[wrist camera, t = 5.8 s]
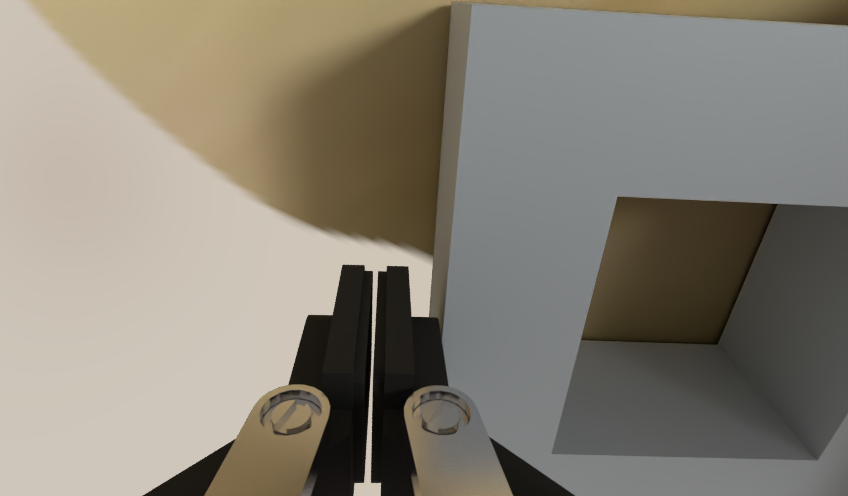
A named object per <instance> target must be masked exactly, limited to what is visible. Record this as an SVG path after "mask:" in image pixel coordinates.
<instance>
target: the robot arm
mask: <svg viewBox="0 0 848 496" xmlns="http://www.w3.org/2000/svg"><path fill="white" fill-rule="evenodd" d="M372 285H373V271H365V267H364V265H343V266H342V270H341V276H340V281H339V286H338V292H337V296H336V302H335V307H334V312H333V315H331V316H330V315H308V317H307V319H306V323H305V326H304V330H303V334H302V337H301V341H300V345H299V348H298V352H297V356H296V359H295V363H294V367H293V370H292V374H291V378H290V381H289V385H287V386H283V387H279V388H277V389H275V390H273V391H270V392H269V393H267V394H266V395H264V396H263V397H262V398H260V400H259V401H258V402H257V403H256V404H255V406H254V407H253V409H252V411H251V412H250V414H249V416H248V418H247V420H246V422H245V424H244V425H243V427H242V429H241V431H240V433H239V434H238V436H237V438H236V439H235V440H233V441H232V442H230V443H228V444H226V445H225V446H223V447H222V448H220V449H218V450H217V451H215V452H213V453H212V454H210V455H209V456H207V457H205V458H204V459H202V460H200V461H199V462H197V463H196V464H194V465H192V466H191V467H189V468H187V469H186V470H184V471H182V472H181V473H179V474H178V475H176V476H174V477H173V478H171V479H169V480H168V481H166V482H164V483H163V484H161V485H160V486H158V487H156V488H155V489H153V490H152V491H150V492H148V493H147V494H145V495H143V496H353V494H354V483H364V475H365V459H366V457H365V456H366V442H367V441H366V440H367V426H368V408H369V391H370V375H371V346H372V342H371V341H372V289H373V288H372V287H373V286H372ZM409 287H410V286H409V270H408V267H404V266H387V272H381V271H379V272H378V288H377V308H376V329H375V349H374V369H373V411H372V412H373V413H372V459H371V460H372V461H371V462H372V463H371V483H381V496H575V495H574V494H572V493H571V492H569V491H568V490H566V489H565V488H564V487H562V486H561V485H559V484H558V483H556V482H555V481H553V480H552V479H550V478H549V477H547V476H546V475H545V474H543V473H542V472H540V471H539V470H537V469H536V468H534V467H533V466H531V465H530V464H528V463H527V462H526V461H524V460H523V459H521V458H520V457H518V456H517V455H515V454H514V453H512V452H511V451H510V450H508V449H507V448H505V447H504V446H502V445H501V444H499V443H498V442H496V441H495V440H493V439H492V438H491V437H489V436H488V433H487V431H486V428H485V426H484V423H483V421H482V419H481V416H480V414H479V411H478V409H477V407H476V405H475V404H474V402H473V400H472V399H471V398H470V397H468V396H467V395H466V394H465V393H463V392H461V391H459V390H457V389H455V388H452V387H449V385H448V378H447V371H446V365H445V358H444V351H443V345H442V338H441V331H440V324H439V319H438V317H411V302H410V288H409Z"/></svg>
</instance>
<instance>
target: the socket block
mask: <svg viewBox="0 0 848 496" xmlns="http://www.w3.org/2000/svg"><path fill="white" fill-rule="evenodd" d="M617 197H639V198H661V199H683V200H706V201H728V202H750V203H772V204H777V207H776V209H775V211H774V214H773V216H772V218H771V221H770V223H769V225H768V228H767V230H766V232H765V235H764V237H763V239H762V242H761V244H760V247H759V249H758V251H757V254H756V256H755V258H754V261H753V263H752V265H751V268H750V270H749V272H748V275H747V277H746V279H745V282H744V284H743V286H742V289H741V291H740V293H739V296H738V298H737V300H736V303H735V305H734V308H733V310H732V312H731V315H730V317H729V319H728V322H727V324H726V326H725V329H724V331H723V333H722V336H721V338H720V340H719V343H718V345H709V344H679V343H649V342H619V341H588V340H581V337H582V333H583V329H584V325H585V322H586V318H587V314H588V310H589V306H590V302H591V298H592V294H593V291H594V287H595V283H596V279H597V275H598V271H599V267H600V263H601V259H602V256H603V252H604V248H605V244H606V240H607V236H608V232H609V228H610V225H611V221H612V217H613V213H614V209H615V205H616V201H617ZM429 317H438V319H439V324H440V331H441V338H442V345H443V351H444V358H445V365H446V371H447V378H448V385H449V387H452V388H455V389H457V390H459V391H461V392H463V393H465V394H466V395H467V396H468V397H470V398H471V399H472V400H473V402H474V404H475V405H476V407H477V409H478V411H479V414H480V416H481V419H482V421H483V423H484V426H485V428H486V431H487V433H488V436H489V437H491V438H492V439H493V440H495V441H496V442H498V443H499V444H501V445H502V446H504V447H505V448H507V449H508V450H510V451H511V452H512V453H514V454H515V455H517V456H518V457H520V458H521V459H523V460H524V461H526V462H527V463H528V464H530V465H531V466H533V467H534V468H536V469H537V470H539V471H540V472H542V473H543V474H545V475H546V476H547V477H549V478H550V479H552V480H553V481H555V482H556V483H558V484H559V485H561V486H562V487H564V488H565V489H566V490H568V491H569V492H571V493H572V494H574V495H575V496H848V25H834V24H818V23H801V22H785V21H768V20H751V19H735V18H718V17H702V16H685V15H669V14H652V13H636V12H619V11H603V10H586V9H570V8H553V7H537V6H520V5H503V4H487V3H470V2H454V1H452V5H451V19H450V33H449V47H448V61H447V75H446V89H445V103H444V117H443V131H442V145H441V159H440V173H439V186H438V200H437V214H436V228H435V242H434V256H433V270H432V284H431V298H430V313H429Z"/></svg>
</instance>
